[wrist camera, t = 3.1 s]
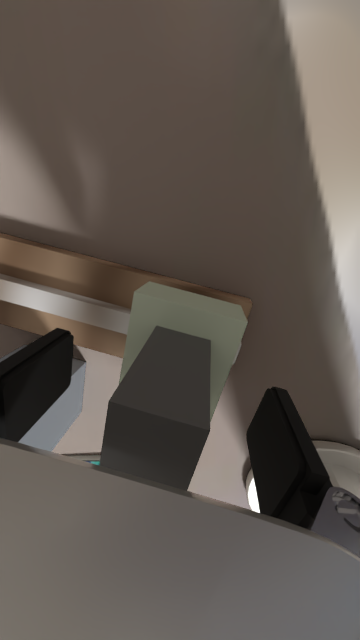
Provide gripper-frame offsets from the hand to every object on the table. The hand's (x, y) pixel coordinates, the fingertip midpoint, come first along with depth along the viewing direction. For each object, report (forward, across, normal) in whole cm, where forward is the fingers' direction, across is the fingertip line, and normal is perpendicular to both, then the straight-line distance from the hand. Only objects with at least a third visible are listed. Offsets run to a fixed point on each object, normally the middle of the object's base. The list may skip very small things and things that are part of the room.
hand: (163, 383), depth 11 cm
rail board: (+8, +6, 0) cm, 10 cm away
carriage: (+5, 0, 0) cm, 5 cm away
